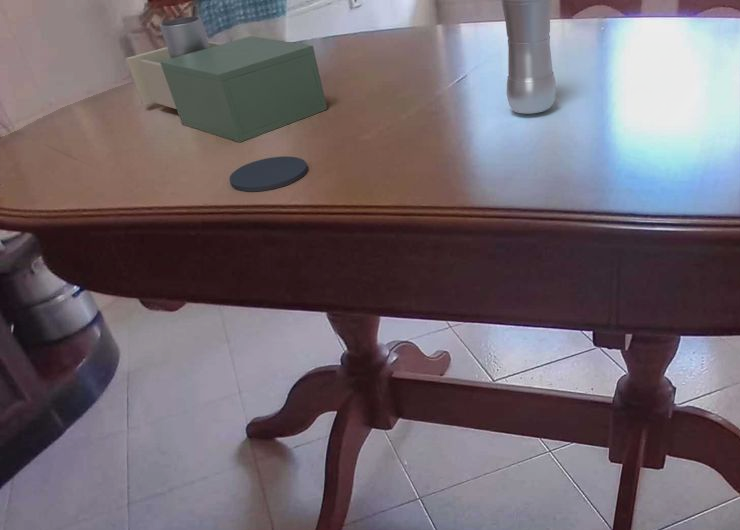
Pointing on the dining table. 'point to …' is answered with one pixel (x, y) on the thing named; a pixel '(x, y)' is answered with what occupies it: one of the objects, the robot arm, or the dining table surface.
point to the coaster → (268, 174)
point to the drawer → (153, 76)
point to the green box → (245, 86)
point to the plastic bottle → (529, 55)
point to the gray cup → (184, 35)
